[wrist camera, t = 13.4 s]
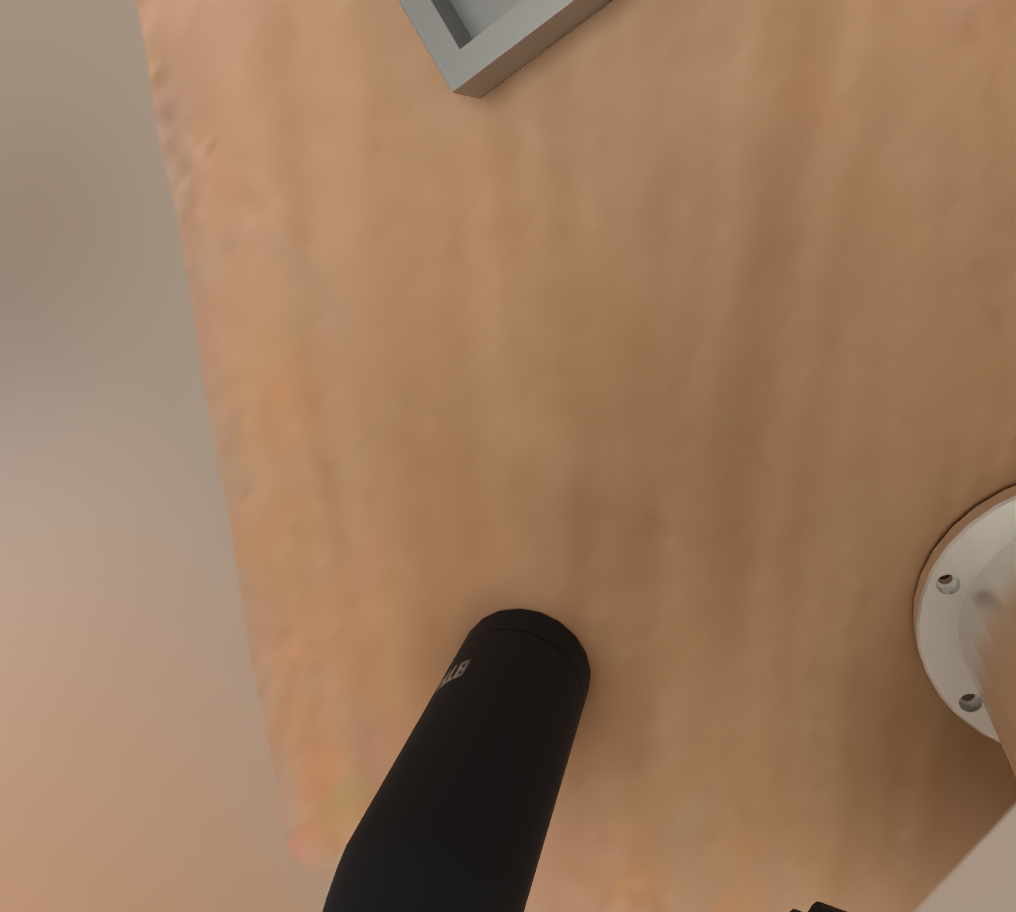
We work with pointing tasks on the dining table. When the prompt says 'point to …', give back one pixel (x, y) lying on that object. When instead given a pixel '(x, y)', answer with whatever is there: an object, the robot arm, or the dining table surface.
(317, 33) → the dining table surface
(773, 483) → the dining table surface
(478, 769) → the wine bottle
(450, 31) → the box
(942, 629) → the robot arm
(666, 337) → the dining table surface
